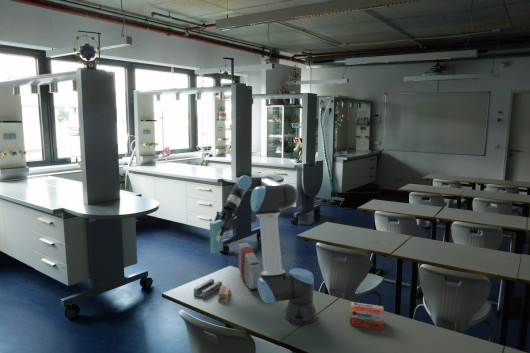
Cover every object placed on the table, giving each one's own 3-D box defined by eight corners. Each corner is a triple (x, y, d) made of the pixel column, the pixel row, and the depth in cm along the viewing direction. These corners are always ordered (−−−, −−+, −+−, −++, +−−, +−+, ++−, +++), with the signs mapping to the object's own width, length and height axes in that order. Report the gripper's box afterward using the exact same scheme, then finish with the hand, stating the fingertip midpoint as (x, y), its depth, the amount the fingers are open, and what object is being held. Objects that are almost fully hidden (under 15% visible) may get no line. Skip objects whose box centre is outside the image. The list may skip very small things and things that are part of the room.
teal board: (222, 249, 226) (222, 220, 223) (214, 253, 219) (213, 223, 216) (219, 248, 227) (219, 219, 224) (210, 253, 220) (209, 223, 217)
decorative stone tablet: (237, 242, 241) (251, 264, 213) (248, 241, 243) (262, 263, 215) (237, 271, 246) (250, 297, 218) (247, 270, 247) (261, 295, 220)
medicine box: (382, 321, 191) (383, 305, 190) (383, 330, 184) (384, 314, 182) (350, 316, 195) (351, 301, 194) (349, 325, 187) (350, 309, 186)
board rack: (222, 288, 224) (221, 281, 223) (204, 299, 212) (204, 292, 211) (211, 285, 228) (211, 278, 227) (193, 295, 215) (193, 288, 215)
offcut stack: (231, 293, 219) (230, 285, 218) (227, 303, 208) (227, 295, 208) (221, 292, 219) (221, 285, 219) (217, 302, 209) (217, 294, 208)
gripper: (245, 209, 230) (228, 245, 219) (224, 206, 238) (206, 240, 227) (240, 202, 225) (222, 239, 213) (218, 199, 233) (200, 234, 221)
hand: (214, 239), depth 220 cm, fingers closed on teal board, 2 cm apart
